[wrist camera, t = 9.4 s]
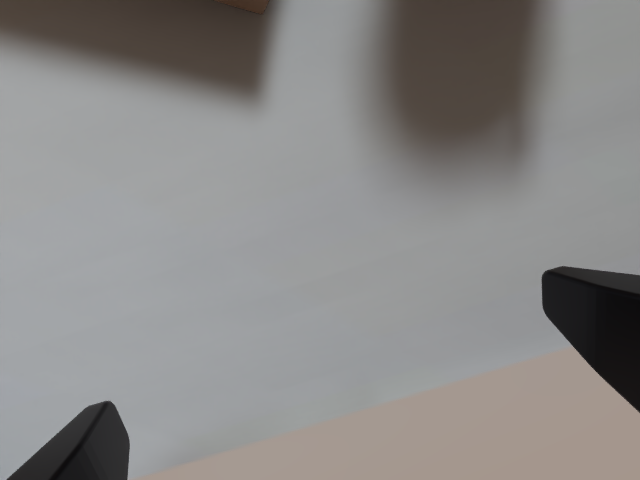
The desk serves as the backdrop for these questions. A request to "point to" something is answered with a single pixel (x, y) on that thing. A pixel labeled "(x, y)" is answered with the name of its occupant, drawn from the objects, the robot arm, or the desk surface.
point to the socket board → (247, 4)
